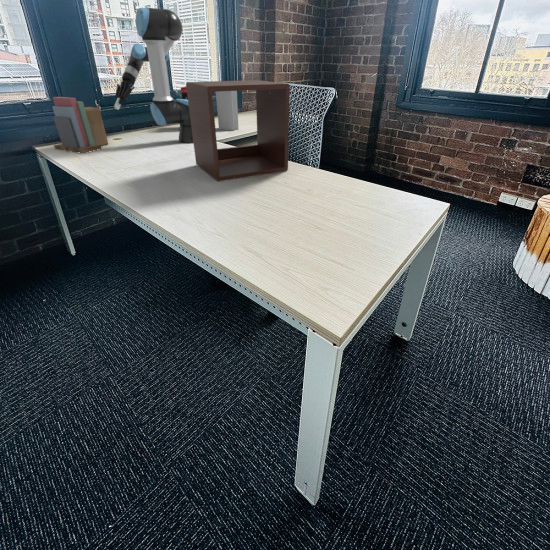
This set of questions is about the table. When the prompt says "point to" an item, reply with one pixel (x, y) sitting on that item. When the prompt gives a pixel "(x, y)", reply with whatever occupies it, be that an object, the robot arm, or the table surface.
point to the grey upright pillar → (227, 110)
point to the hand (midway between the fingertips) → (116, 108)
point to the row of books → (72, 122)
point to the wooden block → (96, 126)
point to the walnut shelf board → (81, 150)
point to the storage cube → (270, 130)
